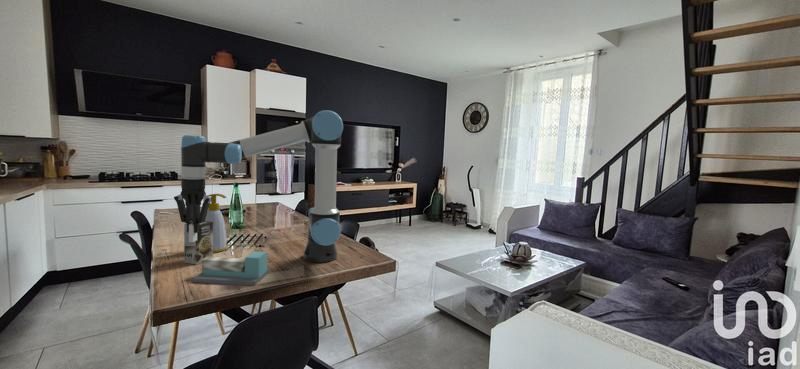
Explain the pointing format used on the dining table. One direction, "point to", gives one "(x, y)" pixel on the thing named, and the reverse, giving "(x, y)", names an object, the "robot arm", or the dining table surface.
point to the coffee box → (199, 244)
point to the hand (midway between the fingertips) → (193, 241)
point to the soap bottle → (217, 224)
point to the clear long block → (223, 264)
